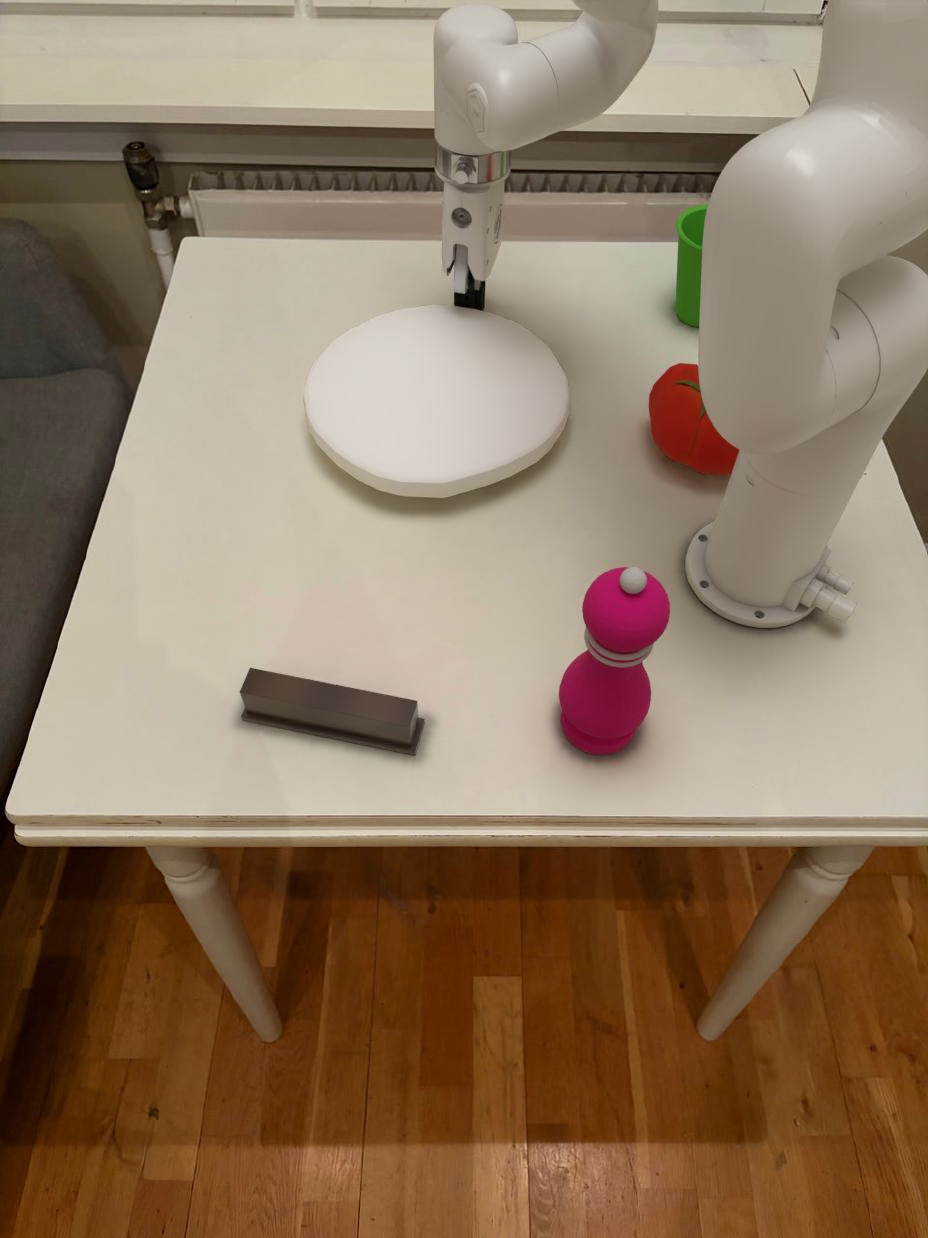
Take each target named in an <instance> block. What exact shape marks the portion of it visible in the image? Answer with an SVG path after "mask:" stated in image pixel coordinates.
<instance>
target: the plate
mask: <svg viewBox="0 0 928 1238" xmlns="http://www.w3.org/2000/svg"><path fill="white" fill-rule="evenodd" d="M568 380H569V379H568V377H567V375H566V374H565V372H564V370H563V369H562V367H561V365H560V363H559V362H558V360H557V358H556V356H555V354H554V353H553V351H552V350H551V348H550V347H549V346H548V345H546V343H545V342H543V340H542V339H541V338H540V337H538V336H537V335H536V334H534V333H532V332H531V331H530V330H528V329H526V328H524V327H523V326H522V325H520V324H518V323H517V322H516V321H513V320H510V319H508V318H506V317H503V316H501V315H498V314H496V313H492V312H488V311H484V310H483V311H480V310H476V309H471V308H464V307H457V306H454V305H445V304H443V305H441V304H439V305H438V304H427V305H419V306H413V307H407V308H400V309H396V310H393V311H389V312H385V313H382V314H379V315H377V316H374V317H372V318H370V319H368V320H366V321H364V322H362V323H360V324H358V325H356V326H354V327H352V328H350V329H348V330H346V331H344V332H343V333H342V334H340V336H337V337H336V338H335V339H334V340H332V341H331V342H330V343H329V344H328V345H327V346H326V348H325V349H324V350H323V351H322V352H321V354H319V356H318V357H317V358H316V359H315V360H314V362H313V364H312V366H311V368H310V370H309V372H308V373H307V375H306V379H305V384H304V390H303V397H302V403H303V407H304V414H305V419H306V425H307V428H308V430H309V431H310V434H311V435H312V438H313V439H314V441H315V443H316V445H317V446H318V448H320V449H321V450H322V451H323V452H324V453H325V454H326V456H328V457H329V459H330V460H331V461H332V462H333V463H334V464H336V466H337V467H339V468H340V469H342V470H343V471H345V473H347V474H349V475H350V476H351V477H353V479H356V480H358V481H360V482H361V483H363V484H365V485H367V486H369V487H371V488H373V489H375V490H377V491H380V492H384V493H388V494H391V495H395V496H400V497H404V498H405V497H407V498H408V497H409V498H437V499H438V498H439V499H440V498H441V499H446V498H449V497H452V496H456V495H459V494H463V493H466V492H470V491H474V490H477V489H481V488H485V487H488V486H490V485H492V484H496V483H498V482H500V481H502V480H506V479H508V478H510V477H512V476H514V475H516V474H518V473H519V472H521V471H523V470H525V469H527V468H529V467H531V466H532V465H534V464H536V463H537V462H539V461H540V460H541V459H542V458H544V457H545V455H547V454H548V453H549V452H550V451H551V450H552V448H553V447H554V445H555V444H556V442H557V441H558V439H559V438H560V436H561V435H562V433H563V432H564V430H565V428H566V426H567V425H566V424H567V421H568V418H569V415H570V409H571V406H570V404H571V403H570V388H569V387H570V386H569V381H568Z"/></svg>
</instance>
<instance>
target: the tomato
mask: <svg viewBox="0 0 928 1238" xmlns="http://www.w3.org/2000/svg"><path fill="white" fill-rule="evenodd" d="M648 413H649V421H650V422H649V423H650V434H651V437H652V440H653V441H654V443H655V444H656V446H657V448H658V449H659V450H660V451H661V452H662V453H663V454H664V455H666V456H667V457H668V458H669V459H670V460H672V461H673V462H675V463H679V464H681V465H684V466H687V467H688V468H690V469H692V470H693V471H696V472H698V473H701V474H705V475H710V476H711V475H712V476H719V475H731V474H732V471H733V468H734V465H735V462H736V459H737V456H738V453H739V450H740V449H738V448H736V447H734V446H733V445H731V444H730V443H729V442H727V441H726V440H725V439H724V438H723V437H722V436H721V435H720V434H719V433H718V431H717V430H716V428H715V427H714V425H713V424H712V422H711V420H710V418H709V416H708V414H707V412H706V409H705V406H704V403H703V399H702V396H701V390H700V384H699V372H698V363H684V362H679V363H676V364H673V365H671V366H669V367H668V369H666V370H665V371H664V373H663V374H662V375H660V377H658V378H657V380H656V381H655V382H654V383H653V384H652V387H651V390H650V392H649V394H648Z"/></svg>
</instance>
